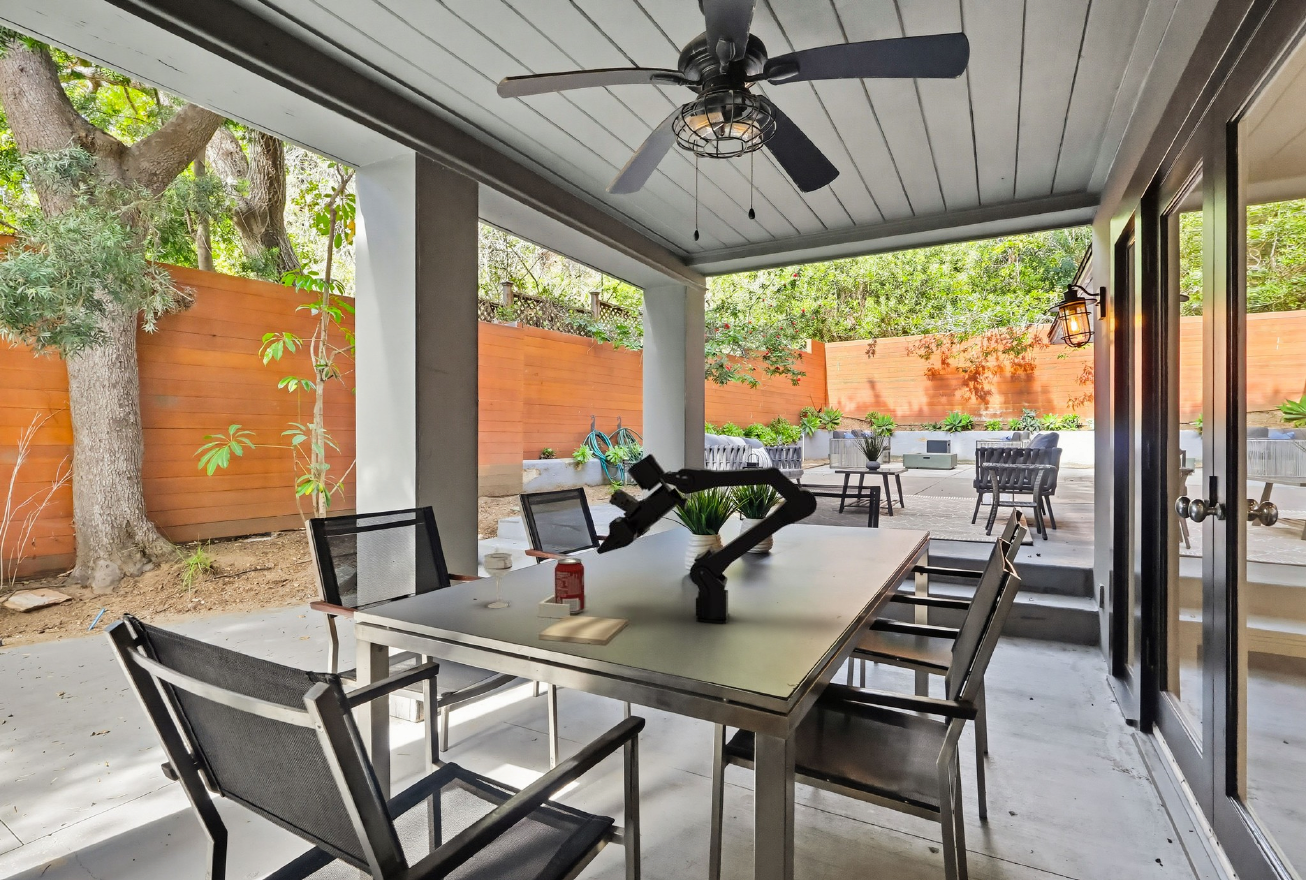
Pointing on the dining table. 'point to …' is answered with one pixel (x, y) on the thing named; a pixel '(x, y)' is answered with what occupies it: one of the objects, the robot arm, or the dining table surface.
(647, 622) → the dining table surface
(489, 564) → the wineglass
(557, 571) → the soda can
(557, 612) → the block
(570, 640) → the pad
